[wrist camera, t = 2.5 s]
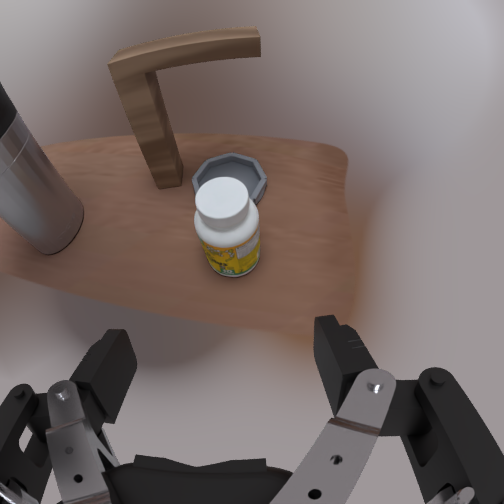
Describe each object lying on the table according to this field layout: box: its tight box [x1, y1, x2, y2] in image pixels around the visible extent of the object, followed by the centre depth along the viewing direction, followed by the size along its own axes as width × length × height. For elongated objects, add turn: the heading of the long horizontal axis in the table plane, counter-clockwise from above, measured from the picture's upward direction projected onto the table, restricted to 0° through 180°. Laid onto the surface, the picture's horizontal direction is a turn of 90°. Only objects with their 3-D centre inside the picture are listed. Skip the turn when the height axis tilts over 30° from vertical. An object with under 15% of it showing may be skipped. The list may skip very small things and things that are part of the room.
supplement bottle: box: [194, 177, 260, 277], centre depth 25 cm, size 5×5×10 cm
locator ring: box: [192, 153, 267, 205], centre depth 32 cm, size 8×8×2 cm
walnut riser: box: [107, 26, 261, 189], centre depth 26 cm, size 4×13×18 cm, turn 95°
